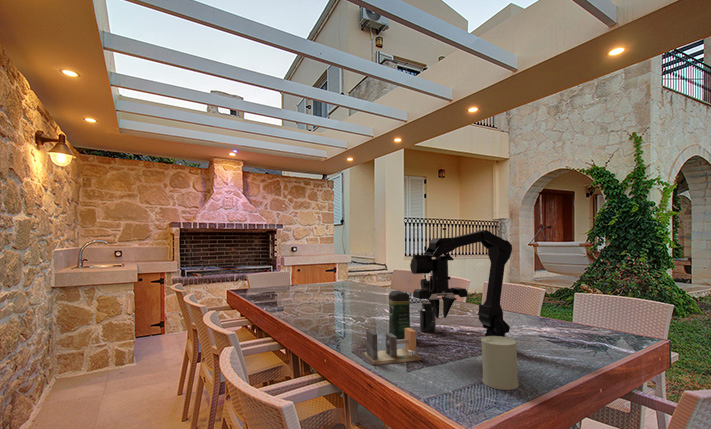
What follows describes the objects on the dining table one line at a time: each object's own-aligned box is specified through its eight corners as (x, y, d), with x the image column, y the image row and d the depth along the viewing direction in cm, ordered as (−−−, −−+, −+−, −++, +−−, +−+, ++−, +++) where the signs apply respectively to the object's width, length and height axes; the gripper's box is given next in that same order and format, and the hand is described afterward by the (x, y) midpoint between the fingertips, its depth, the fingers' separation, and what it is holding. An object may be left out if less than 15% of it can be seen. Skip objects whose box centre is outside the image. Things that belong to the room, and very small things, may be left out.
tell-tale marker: (410, 354, 117) (409, 349, 117) (412, 355, 115) (412, 351, 115) (407, 354, 117) (407, 350, 117) (410, 356, 115) (409, 351, 115)
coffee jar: (413, 339, 141) (412, 292, 143) (394, 340, 139) (393, 292, 141) (404, 333, 151) (403, 289, 152) (386, 334, 149) (386, 289, 150)
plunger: (410, 349, 123) (409, 327, 124) (419, 356, 116) (419, 332, 116) (385, 351, 121) (385, 329, 121) (393, 358, 114) (393, 334, 114)
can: (476, 377, 101) (475, 334, 102) (507, 376, 102) (505, 333, 103) (491, 390, 92) (490, 343, 93) (525, 389, 93) (523, 342, 93)
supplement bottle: (436, 333, 150) (435, 304, 151) (419, 332, 152) (419, 304, 153) (435, 329, 157) (435, 301, 158) (420, 328, 158) (419, 301, 159)
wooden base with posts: (408, 351, 126) (408, 325, 126) (420, 360, 116) (420, 332, 117) (364, 355, 121) (364, 328, 122) (373, 364, 112) (372, 335, 112)
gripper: (451, 270, 136) (452, 312, 134) (406, 272, 131) (407, 315, 130) (468, 273, 125) (469, 318, 124) (419, 274, 120) (420, 321, 119)
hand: (441, 317), depth 124 cm, fingers open, 3 cm apart
